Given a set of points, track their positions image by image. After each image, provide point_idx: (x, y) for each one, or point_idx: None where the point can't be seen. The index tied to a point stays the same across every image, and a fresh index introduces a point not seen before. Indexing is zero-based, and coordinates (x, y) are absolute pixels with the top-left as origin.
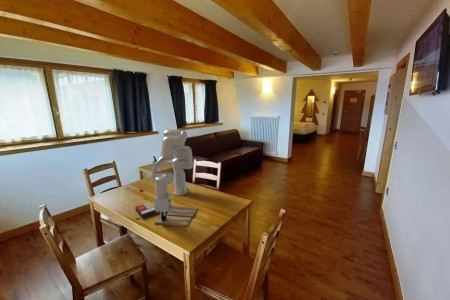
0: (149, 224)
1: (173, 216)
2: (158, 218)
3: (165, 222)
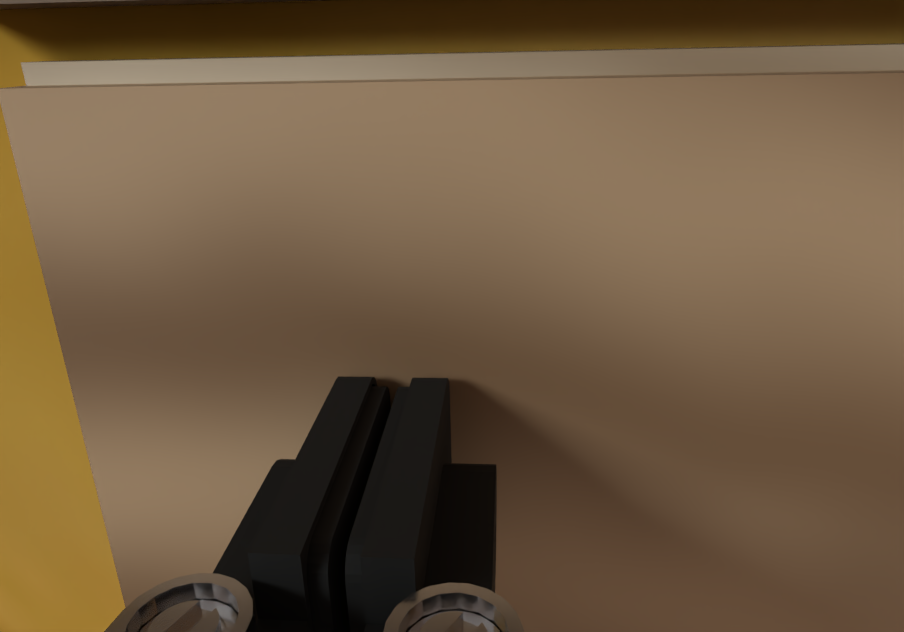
0: (10, 593)
1: (763, 117)
2: (97, 370)
3: (533, 596)
